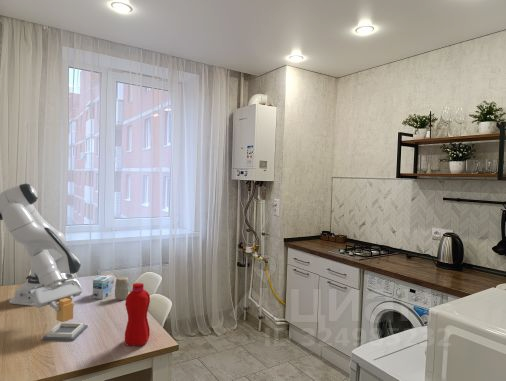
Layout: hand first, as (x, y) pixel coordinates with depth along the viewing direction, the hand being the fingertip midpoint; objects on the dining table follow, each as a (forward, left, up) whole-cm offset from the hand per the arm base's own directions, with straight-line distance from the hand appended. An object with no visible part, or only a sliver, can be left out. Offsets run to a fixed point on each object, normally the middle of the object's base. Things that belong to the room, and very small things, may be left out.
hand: (65, 308), depth 150 cm
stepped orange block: (-1, 0, -5) cm, 5 cm away
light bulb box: (-3, +48, -12) cm, 49 cm away
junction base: (0, +1, -11) cm, 11 cm away
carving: (+9, +44, -12) cm, 46 cm away
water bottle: (+33, -4, -12) cm, 35 cm away
